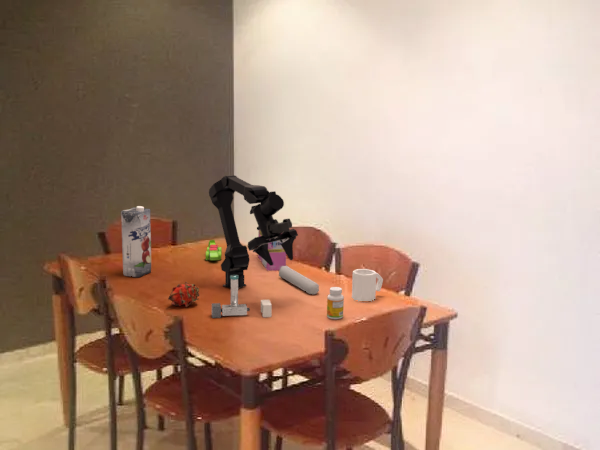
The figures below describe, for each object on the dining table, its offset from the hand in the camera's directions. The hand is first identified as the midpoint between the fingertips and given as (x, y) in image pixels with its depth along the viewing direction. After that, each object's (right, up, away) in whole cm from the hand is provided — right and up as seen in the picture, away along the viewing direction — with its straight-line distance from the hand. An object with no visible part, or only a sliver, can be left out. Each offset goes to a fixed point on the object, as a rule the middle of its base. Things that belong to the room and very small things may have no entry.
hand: (282, 262), depth 253 cm
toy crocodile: (-31, -2, +65) cm, 72 cm away
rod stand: (-17, -17, -8) cm, 25 cm away
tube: (+6, -11, +27) cm, 29 cm away
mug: (+30, -13, +14) cm, 36 cm away
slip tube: (-15, -16, -8) cm, 24 cm away
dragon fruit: (-34, -15, +1) cm, 37 cm away
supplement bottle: (+18, -18, -7) cm, 26 cm away
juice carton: (-57, -7, +38) cm, 69 cm away
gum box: (-6, -3, +58) cm, 59 cm away
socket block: (-5, -17, -6) cm, 19 cm away
